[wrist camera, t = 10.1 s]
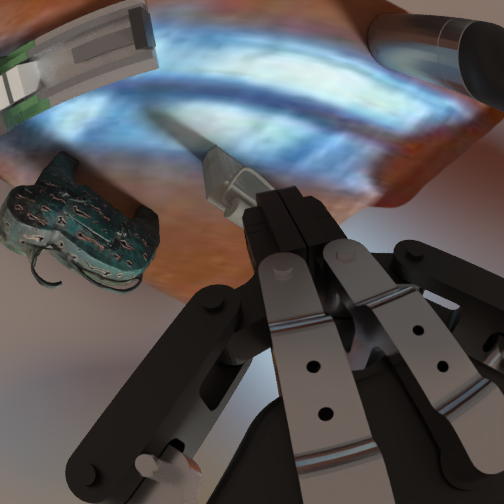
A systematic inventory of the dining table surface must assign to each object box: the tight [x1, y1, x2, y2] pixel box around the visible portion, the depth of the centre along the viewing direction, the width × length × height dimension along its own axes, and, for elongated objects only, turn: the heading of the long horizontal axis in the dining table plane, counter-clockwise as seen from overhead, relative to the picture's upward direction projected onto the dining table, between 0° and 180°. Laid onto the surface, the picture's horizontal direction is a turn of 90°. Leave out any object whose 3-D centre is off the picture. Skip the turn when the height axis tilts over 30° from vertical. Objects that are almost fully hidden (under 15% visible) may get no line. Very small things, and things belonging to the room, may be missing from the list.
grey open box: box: [0, 0, 159, 136], centre depth 24 cm, size 20×10×6 cm, turn 97°
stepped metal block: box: [71, 6, 156, 64], centre depth 23 cm, size 9×4×7 cm, turn 97°
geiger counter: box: [202, 145, 276, 229], centre depth 40 cm, size 14×6×25 cm
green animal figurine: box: [0, 151, 160, 294], centre depth 31 cm, size 20×6×20 cm, turn 44°
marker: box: [0, 61, 43, 110], centre depth 23 cm, size 4×4×5 cm
